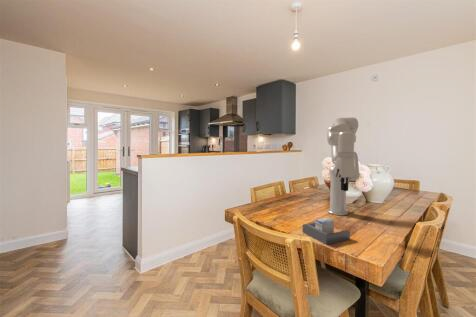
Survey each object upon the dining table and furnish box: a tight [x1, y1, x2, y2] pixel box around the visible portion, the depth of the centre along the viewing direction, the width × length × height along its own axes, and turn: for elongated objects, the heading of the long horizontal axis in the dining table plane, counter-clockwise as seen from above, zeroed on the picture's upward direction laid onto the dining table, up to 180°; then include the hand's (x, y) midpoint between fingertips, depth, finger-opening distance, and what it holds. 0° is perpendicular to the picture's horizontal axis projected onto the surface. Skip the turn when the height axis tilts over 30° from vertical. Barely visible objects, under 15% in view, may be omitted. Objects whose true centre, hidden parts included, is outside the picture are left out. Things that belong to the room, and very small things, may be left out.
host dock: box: [302, 221, 351, 246], centre depth 112 cm, size 15×16×5 cm
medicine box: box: [314, 217, 335, 234], centre depth 110 cm, size 8×4×9 cm, turn 115°
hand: (344, 190), depth 119 cm, fingers closed
